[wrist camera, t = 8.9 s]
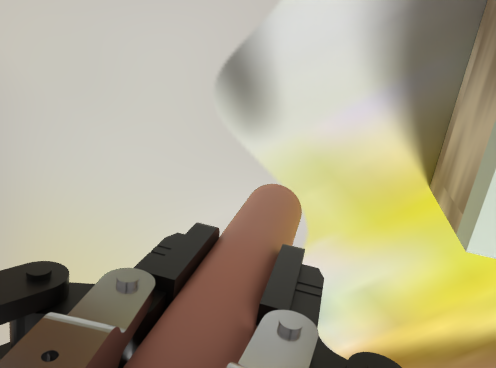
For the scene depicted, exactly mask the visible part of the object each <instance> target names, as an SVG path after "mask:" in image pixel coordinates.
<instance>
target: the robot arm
mask: <svg viewBox="0 0 496 368" xmlns="http://www.w3.org/2000/svg"><path fill="white" fill-rule="evenodd" d="M218 239H219V228H217V227H213V226H209V225H205V224H201V223H196V224H195V225H194V226H193V227H192V228H191V229H190V230H189V231H188V232H187V233H186V234H181V233H176V234H173V235H171V236H168V237H166V238H164V239H163V240H162V241H161V242H160V243H159V244H158V245H157V246H156V247H155V248H154V249H153V250H152V251H151V253H149V254H147V256H145V257H144V258H143V259H142V260H141V261H140V262H139V263H138V264H137V265H136V266H135V267H134V268H120V269H116V270H112V271H110V272H108V273H106V274H105V275H104V276H102V278H101V279H100V280H99V281H98V282H97V283H96V284H84V283H69V271H68V269H67V268H66V267H65V266H64V265H61V264H59V263H56V262H50V261H38V262H31V263H27V264H23V265H20V266H16V267H12V268H9V269H5V270H1V271H0V325H2V324H5V323H7V322H10V342H9V343H6V344H4V345H1V346H0V368H123V367H124V366H125V365H126V363H127V362H128V360H129V359H130V358H131V356H132V355H133V354H134V352H135V351H136V350H137V348H138V347H139V346H140V344H141V343H142V341H143V340H144V339H145V337H146V336H147V335H148V333H149V332H150V331H151V329H152V328H153V327H154V325H155V324H156V323H157V321H158V320H159V318H160V317H161V316H162V314H163V313H164V312H165V310H166V309H167V308H168V306H169V305H170V304H171V302H172V301H173V300H174V299H175V297H176V296H177V294H178V293H179V292H180V290H181V289H182V288H183V286H184V285H185V284H186V282H187V281H188V280H189V278H190V277H191V275H192V274H193V273H194V271H195V270H196V269H197V267H198V266H199V265H200V263H201V262H202V261H203V259H204V258H205V257H206V255H207V254H208V252H209V251H210V250H211V248H212V247H213V246H214V244H215V243H216V242H217V240H218ZM304 252H305V249H302V248H298V247H294V246H290V245H286V244H282V247H281V249H280V252H279V255H278V257H277V260H276V262H275V265H274V268H273V270H272V273H271V275H270V278H269V281H268V283H267V286H266V288H265V291H264V294H263V296H262V299H261V301H260V305H259V310H258V315H257V321H256V326H257V329H256V331H255V333H254V335H253V336H252V338H251V340H250V342H249V344H248V346H247V347H246V349H245V351H244V353H243V355H242V357H241V358H240V360H239V362H238V363H235V362H233V361H231V362H230V363H229V364H228V366H227V367H226V368H402V367H401V366H400V365H398V364H397V363H396V362H394V361H392V360H391V359H389V358H387V357H385V356H382V355H380V354H376V353H371V352H360V353H356V354H354V355H352V356H351V357H350V358H349V360H347V359H345V358H343V357H341V356H339V355H338V354H336V353H334V352H333V351H332V350H330V349H329V348H328V347H327V346H326V345H325V344H324V343H323V342H322V341H321V339H320V337H319V334H318V329H317V326H318V319H319V312H320V304H321V297H322V289H323V282H324V277H323V276H322V274H321V272H320V270H319V269H318V268H315V267H311V266H307V265H303V264H302V262H303V257H304Z"/></svg>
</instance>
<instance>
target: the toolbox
mask: <svg viewBox="0 0 496 368" xmlns="http://www.w3.org/2000/svg"><path fill="white" fill-rule="evenodd" d="M495 120H496V0H487V4H486V7H485V10H484V13H483V16H482V20H481V23H480V26H479V29H478V33H477V36H476V39H475V42H474V46H473V49H472V52H471V55H470V58H469V62H468V65H467V68H466V71H465V75H464V78H463V81H462V84H461V88H460V91H459V94H458V97H457V101H456V104H455V107H454V110H453V113H452V117H451V120H450V123H449V126H448V130H447V133H446V136H445V139H444V143H443V146H442V149H441V152H440V155H439V159H438V162H437V165H436V168H435V172H434V175H433V178H432V181H431V185H430V190H431V191H432V193H433V195H434V197H435V198H436V200H437V202H438V204H439V205H440V207H441V209H442V211H443V212H444V214H445V216H446V218H447V219H448V221H449V223H450V225H451V226H452V228H453V230H454V232H455V233H457V230H458V228H459V225H460V222H461V219H462V216H463V213H464V210H465V207H466V204H467V201H468V198H469V196H470V193H471V190H472V187H473V184H474V181H475V178H476V175H477V172H478V169H479V167H480V164H481V161H482V158H483V155H484V152H485V149H486V146H487V143H488V140H489V137H490V135H491V132H492V129H493V126H494V123H495Z"/></svg>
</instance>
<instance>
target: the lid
mask: <svg viewBox="0 0 496 368" xmlns="http://www.w3.org/2000/svg"><path fill="white" fill-rule="evenodd" d="M456 235H457V237H458V239H459V240H460V242H461V244H462V246H463V247H464V249H465V251H466V252H469V253H473V254H478V255H482V256H486V257H491V258H495V259H496V120H495V123H494V126H493V129H492V132H491V135H490V137H489V140H488V143H487V146H486V149H485V152H484V155H483V158H482V161H481V164H480V167H479V169H478V172H477V175H476V178H475V181H474V184H473V187H472V190H471V193H470V196H469V198H468V201H467V204H466V207H465V210H464V213H463V216H462V219H461V222H460V225H459V228H458V230H457V233H456Z"/></svg>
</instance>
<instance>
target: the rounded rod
mask: <svg viewBox="0 0 496 368" xmlns="http://www.w3.org/2000/svg"><path fill="white" fill-rule="evenodd" d="M301 213H302V211H301V205H300V202H299V200H298V198H297V197H296V195H295V194H294V193H293V192H292V191H291V190H289V189H288V188H286V187H284V186H282V185H278V184H267V185H263V186H261V187H259V188H257V189H256V190H255V191H254V192H253V193H252V194H251V195H250V197H249V198H248V199H247V201H246V202H245V203H244V205H243V206H242V207H241V209H240V210H239V212H238V213H237V214H236V216H235V217H234V218H233V220H232V221H231V222H230V224H229V225H228V226H227V228H226V229H225V231H224V232H223V233H222V235H221V236H220V237H219V239H218V240H217V242H216V243H215V244H214V246H213V247H212V248H211V250H210V251H209V252H208V254H207V255H206V257H205V258H204V259H203V261H202V262H201V263H200V265H199V266H198V267H197V269H196V270H195V271H194V273H193V274H192V275H191V277H190V278H189V280H188V281H187V282H186V284H185V285H184V286H183V288H182V289H181V290H180V292H179V293H178V294H177V296H176V297H175V299H174V300H173V301H172V302H171V304H170V305H169V306H168V308H167V309H166V310H165V312H164V313H163V314H162V316H161V317H160V318H159V320H158V321H157V323H156V324H155V325H154V327H153V328H152V329H151V331H150V332H149V333H148V335H147V336H146V337H145V339H144V340H143V341H142V343H141V344H140V346H139V347H138V348H137V350H136V351H135V352H134V354H133V355H132V356H131V358H130V359H129V360H128V362H127V363H126V365H125V366H124V367H123V368H226V367H227V366H228V364H229V363H230V362H231V361H233V362H235V363H238V362H239V360H240V358H241V357H242V355H243V353H244V351H245V349H246V347H247V346H248V344H249V342H250V340H251V338H252V336H253V335H254V333H255V331H256V329H257V326H256V321H257V315H258V310H259V305H260V301H261V299H262V296H263V294H264V291H265V288H266V286H267V283H268V281H269V278H270V275H271V273H272V270H273V268H274V265H275V262H276V260H277V257H278V255H279V252H280V249H281V247H282V244H286V245H290V246H292V244H293V240H294V238H295V235H296V231H297V228H298V225H299V222H300V219H301Z"/></svg>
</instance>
